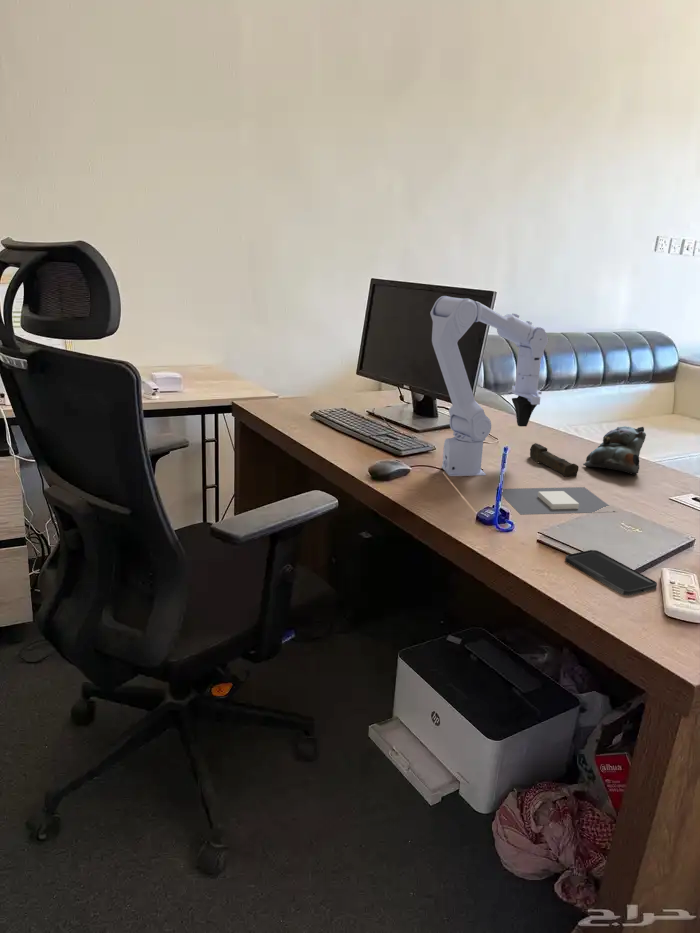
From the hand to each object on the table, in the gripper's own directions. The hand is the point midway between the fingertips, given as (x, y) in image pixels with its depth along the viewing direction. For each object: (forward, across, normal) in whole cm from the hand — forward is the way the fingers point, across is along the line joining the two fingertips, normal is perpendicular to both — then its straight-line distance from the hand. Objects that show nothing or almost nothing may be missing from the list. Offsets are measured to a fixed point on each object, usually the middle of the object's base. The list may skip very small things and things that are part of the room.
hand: (522, 425), depth 176 cm
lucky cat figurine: (+11, -6, -23) cm, 26 cm away
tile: (+9, -26, +2) cm, 27 cm away
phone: (+11, -63, +7) cm, 64 cm away
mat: (+10, -28, +2) cm, 30 cm away
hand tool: (+11, -3, -7) cm, 13 cm away
